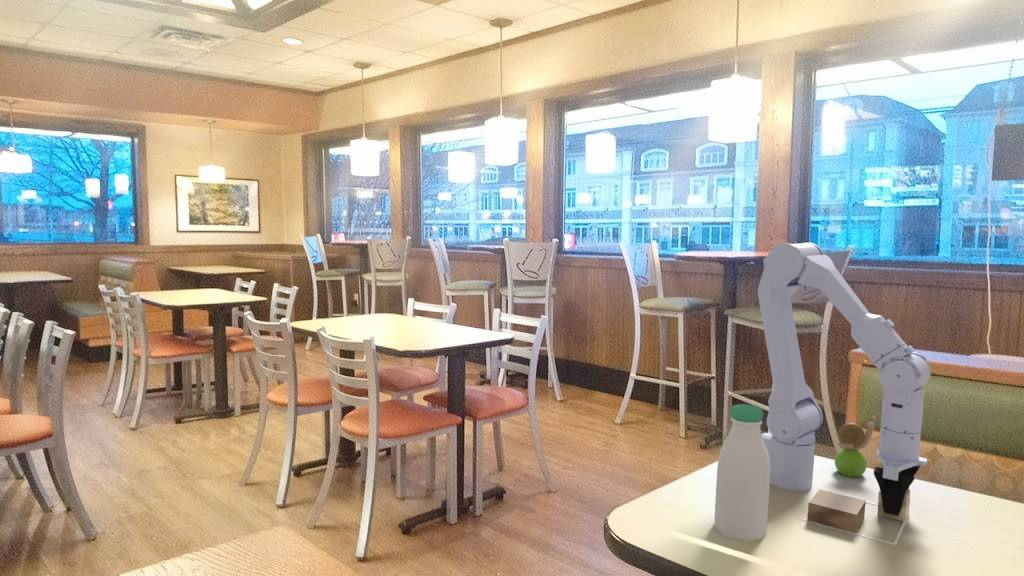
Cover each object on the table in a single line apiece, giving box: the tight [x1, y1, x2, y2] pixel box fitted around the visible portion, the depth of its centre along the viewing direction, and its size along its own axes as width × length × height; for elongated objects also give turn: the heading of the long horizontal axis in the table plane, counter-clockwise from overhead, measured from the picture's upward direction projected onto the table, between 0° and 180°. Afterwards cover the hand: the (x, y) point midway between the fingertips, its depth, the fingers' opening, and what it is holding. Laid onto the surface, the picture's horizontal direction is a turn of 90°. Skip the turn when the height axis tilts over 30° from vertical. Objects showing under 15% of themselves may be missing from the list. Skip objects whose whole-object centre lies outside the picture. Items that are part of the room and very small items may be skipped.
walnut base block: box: [806, 489, 867, 534], centre depth 111 cm, size 7×7×3 cm
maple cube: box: [876, 488, 911, 522], centre depth 113 cm, size 4×4×4 cm
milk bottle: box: [714, 403, 771, 542], centre depth 106 cm, size 8×8×20 cm
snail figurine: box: [834, 415, 877, 478], centre depth 130 cm, size 5×6×12 cm
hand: (893, 508), depth 113 cm, fingers closed on maple cube, 4 cm apart
